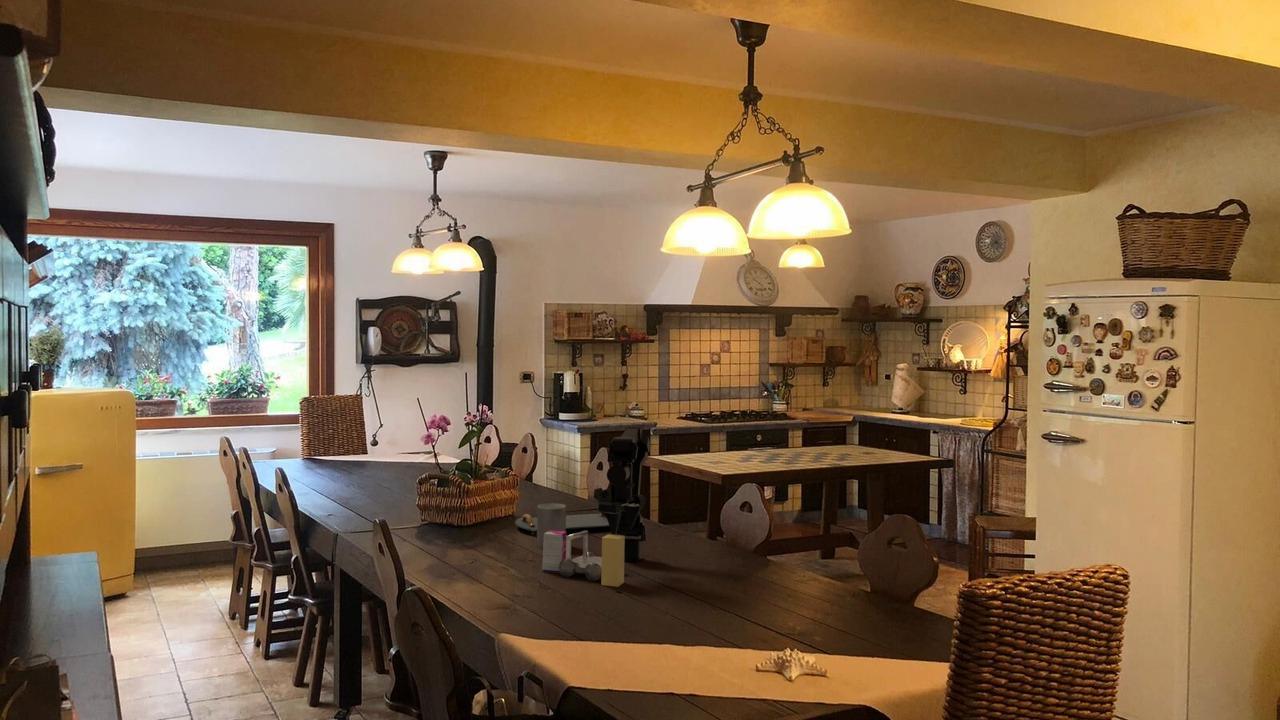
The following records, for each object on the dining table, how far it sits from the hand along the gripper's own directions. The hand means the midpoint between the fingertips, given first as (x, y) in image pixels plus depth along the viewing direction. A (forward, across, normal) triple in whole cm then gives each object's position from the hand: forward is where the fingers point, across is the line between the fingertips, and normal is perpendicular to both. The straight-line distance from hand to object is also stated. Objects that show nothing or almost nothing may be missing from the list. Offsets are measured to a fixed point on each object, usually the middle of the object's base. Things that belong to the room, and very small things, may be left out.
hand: (621, 532), depth 286 cm
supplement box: (+12, +9, -18) cm, 24 cm away
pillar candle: (+12, -18, -38) cm, 44 cm away
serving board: (+13, -48, -51) cm, 71 cm away
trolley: (+12, +7, -6) cm, 15 cm away
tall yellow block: (+12, +13, +5) cm, 18 cm away
